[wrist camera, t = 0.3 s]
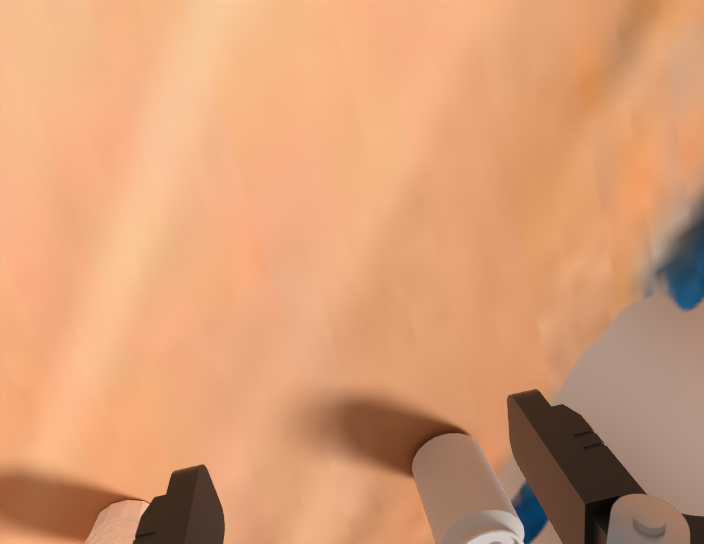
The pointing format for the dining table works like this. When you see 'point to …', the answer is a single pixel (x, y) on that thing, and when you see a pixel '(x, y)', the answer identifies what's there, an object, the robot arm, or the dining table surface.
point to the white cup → (117, 523)
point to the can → (463, 494)
